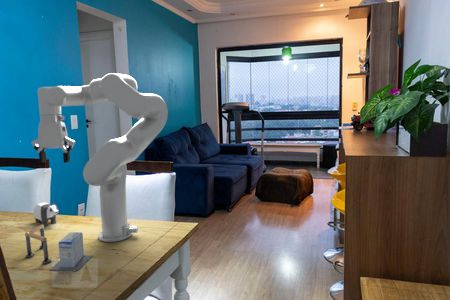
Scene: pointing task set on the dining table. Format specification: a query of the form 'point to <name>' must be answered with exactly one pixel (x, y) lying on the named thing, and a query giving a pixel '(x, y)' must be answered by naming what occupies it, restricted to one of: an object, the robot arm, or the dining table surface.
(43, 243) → the wooden l-shaped stand
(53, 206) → the giant panda
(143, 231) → the dining table surface
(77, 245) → the medicine box
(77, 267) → the mat
